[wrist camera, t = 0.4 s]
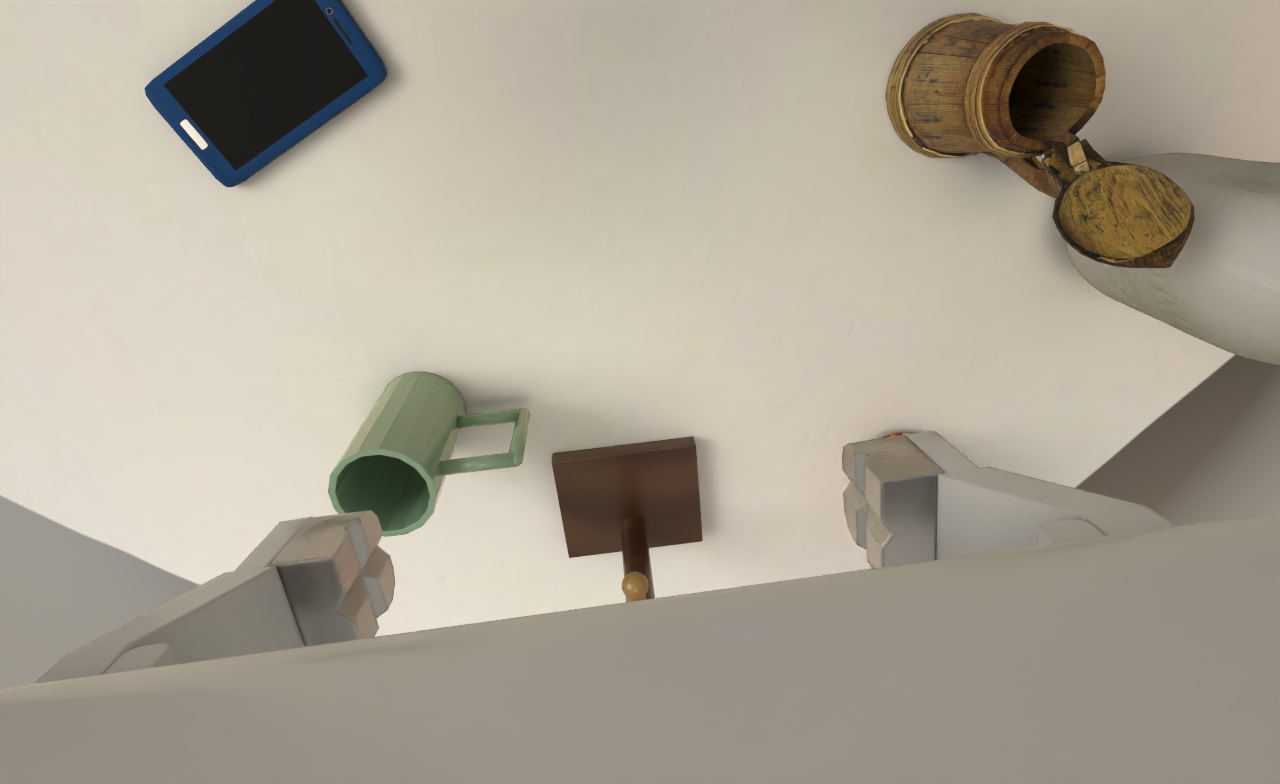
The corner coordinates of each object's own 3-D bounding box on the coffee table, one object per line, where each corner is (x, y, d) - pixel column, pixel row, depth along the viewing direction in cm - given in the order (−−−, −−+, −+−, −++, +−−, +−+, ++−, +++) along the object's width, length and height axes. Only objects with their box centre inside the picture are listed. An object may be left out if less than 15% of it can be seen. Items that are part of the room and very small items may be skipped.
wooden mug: (925, 234, 51) (1083, 311, 35) (870, 56, 45) (1027, 49, 29) (1040, 177, 50) (1259, 230, 33) (997, -13, 44) (1236, -61, 28)
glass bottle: (1189, 216, 52) (1761, 356, 26) (1070, 304, 54) (1489, 508, 29) (1138, 114, 48) (1743, 162, 23) (1013, 212, 51) (1434, 354, 25)
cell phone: (144, 89, 43) (137, 89, 42) (313, -40, 41) (308, -42, 40) (231, 190, 46) (226, 192, 45) (393, 75, 44) (390, 75, 43)
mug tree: (546, 419, 55) (516, 674, 32) (702, 401, 56) (785, 639, 32) (569, 547, 61) (558, 841, 38) (710, 529, 61) (786, 810, 38)
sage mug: (392, 450, 56) (345, 542, 45) (370, 377, 53) (314, 456, 42) (539, 432, 56) (528, 519, 45) (525, 358, 53) (509, 432, 42)
